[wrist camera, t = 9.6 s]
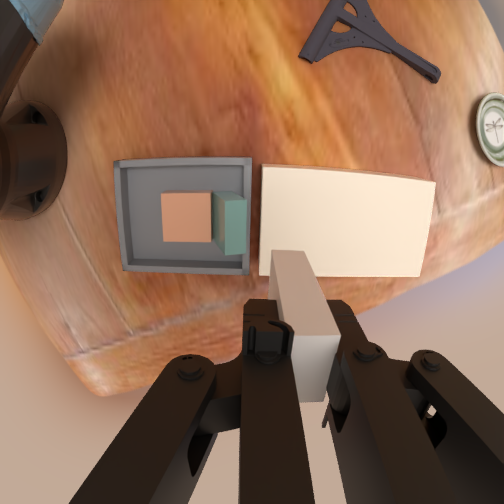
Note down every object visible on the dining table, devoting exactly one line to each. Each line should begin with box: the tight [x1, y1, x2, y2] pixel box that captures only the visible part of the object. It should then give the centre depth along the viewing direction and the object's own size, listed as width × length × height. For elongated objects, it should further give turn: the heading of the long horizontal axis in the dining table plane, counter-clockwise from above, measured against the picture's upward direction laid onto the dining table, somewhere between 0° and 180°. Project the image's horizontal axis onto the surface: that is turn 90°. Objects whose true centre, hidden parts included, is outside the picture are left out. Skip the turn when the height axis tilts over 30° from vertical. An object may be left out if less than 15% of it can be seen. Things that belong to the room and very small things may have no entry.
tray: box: [114, 156, 252, 275], centre depth 32 cm, size 14×12×2 cm
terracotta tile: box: [161, 190, 213, 242], centre depth 32 cm, size 5×5×2 cm
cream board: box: [258, 164, 436, 277], centre depth 31 cm, size 18×11×4 cm, turn 89°
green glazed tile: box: [212, 191, 247, 255], centre depth 30 cm, size 5×5×2 cm
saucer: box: [476, 92, 504, 167], centre depth 28 cm, size 10×10×2 cm
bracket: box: [298, 0, 441, 84], centre depth 25 cm, size 14×15×3 cm
